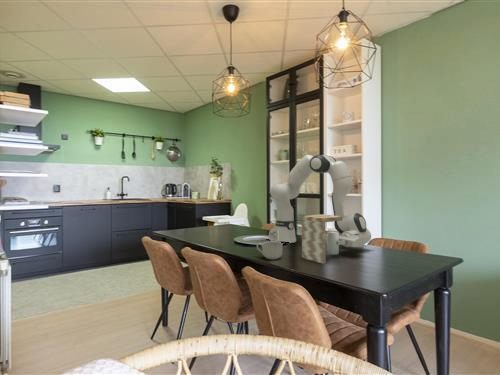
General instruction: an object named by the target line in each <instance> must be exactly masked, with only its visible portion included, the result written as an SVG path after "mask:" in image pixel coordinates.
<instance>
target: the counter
mask: <svg viewBox="0 0 500 375" xmlns="http://www.w3.org/2000/svg"><path fill="white" fill-rule="evenodd" d="M334 221H342V216H334V214H333V215H331V214H324V213H321V214H320V213H318V214H308V215H307V214H306V215H301V259H306V260H308V261H312V262H316V263H320V264H323V265H325V264H326V263H327V262H326V241H325V235H326V223H330V222H333V223H334Z"/></svg>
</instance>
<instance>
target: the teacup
mask: <svg viewBox="0 0 500 375" xmlns="http://www.w3.org/2000/svg"><path fill="white" fill-rule="evenodd" d="M283 244H284V243H281V242H277V241H269V240H266V241H263V242H258V243H257V244H256V250H258V251H259V252H260V253H261V254H262V255H263V257H264V258H265V259H267V260H272V261H273V260H274V261H275V260H278V259H280V258H281V257H282V255H283ZM259 246H260V247H261V248H262V249H261V248H260V247H259Z"/></svg>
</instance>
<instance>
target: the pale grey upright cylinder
mask: <svg viewBox="0 0 500 375" xmlns="http://www.w3.org/2000/svg"><path fill="white" fill-rule="evenodd" d="M326 235H327V242H326V254H329V255H339V253H340V245H337V244H336V241H339V235H340V234H339V232H338V231H332V230H331V231H327V232H326Z"/></svg>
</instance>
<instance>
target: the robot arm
mask: <svg viewBox="0 0 500 375" xmlns="http://www.w3.org/2000/svg"><path fill="white" fill-rule="evenodd" d="M313 172H315V173H317V174H319V173H320V174H329V176H330V179H331V181H332V186H333V187H332V188H333V189H332V192H331V203H332V209H333V216H342V221H333V224H334V229H335V230H336V232H339V233H340V234H339V241H336V244H337V245H339V246H340V245H341V246H344V247H345V248H362V247H363V245H365V244H368V243H369V242H370V241H371V239H372V233H371V231H370V230H369V229H368V227H367V221H366V219H365V217H364V216H363V215H362V214H361V213H359V212H356V213H350V214H349V215H348V214H347V215H345V214H344V209H343V200H344V199H345V197H347V195H348V194H349V193H350V192H351V191H352V190H353V187H354V183H353V179H352V176H351V172H350V170H349V167H348V166H347V164H346V163H345V161H342V160H336V158H334V157H333V156H331V155H327V154H317V155H311V154H306V155H304V156H303V157H302V158H301V159H300V160H299V161H298V162H297V163H296V164H295V166H294V167H293V168H292V169H291V170H290V172H289V173H288V179H287V181H285V183H277V184H274V185H273V186H272V187H271V188H270V192H269V194H270V197H271V198H272V199H273V200H274V203H275V206H276V220H275V221H274V224H275V225H274V226H273V227H272V228H271V229H270V230H269V233H268V237H269V238H267V237H266V238H267V239H274V240H277V241H288V242H289V243H288V244H291V243H296V242H297V237H296V229H295V220H294V218H295V217H294V215H295V214H294V208H293V206H292V205H291V200H293V199H296V198H297V197H298V196H299V194H300V190H301V187H302V185H304V183H305V182H306V181H307V179H308V178H309V177H310V175H311V174H312V173H313ZM325 243H327V234H325Z"/></svg>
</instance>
